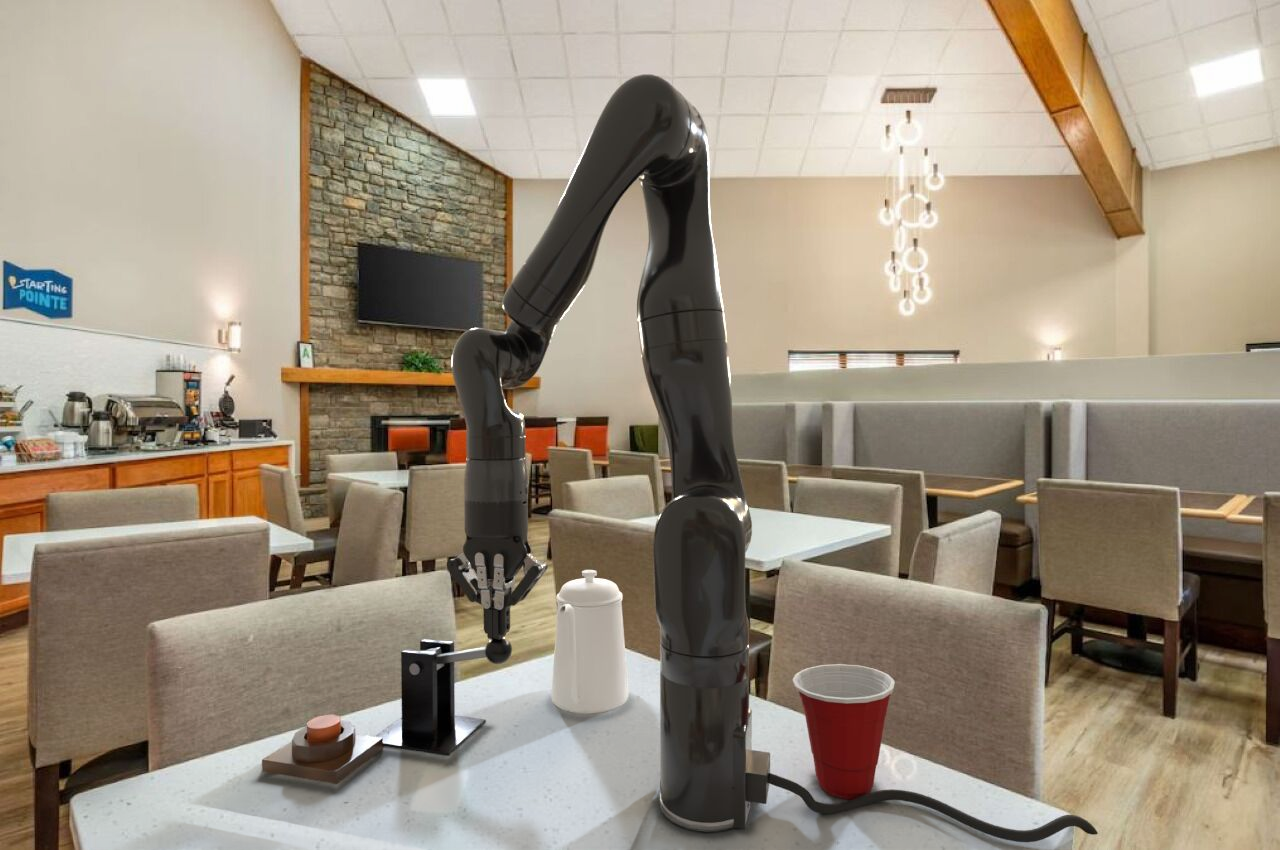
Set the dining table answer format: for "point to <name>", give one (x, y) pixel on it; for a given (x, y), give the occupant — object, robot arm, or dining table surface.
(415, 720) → the lever base
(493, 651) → the lever
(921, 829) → the dining table surface
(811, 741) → the plastic cup
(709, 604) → the robot arm
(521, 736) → the dining table surface
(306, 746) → the button base
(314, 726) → the warm button
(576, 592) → the coffeepot
